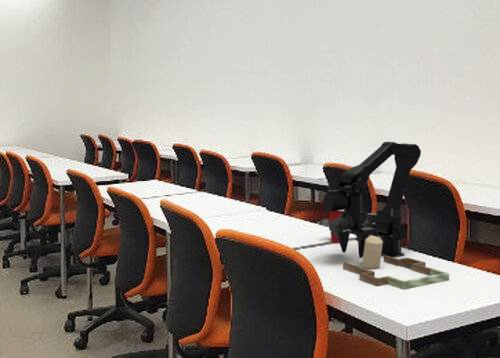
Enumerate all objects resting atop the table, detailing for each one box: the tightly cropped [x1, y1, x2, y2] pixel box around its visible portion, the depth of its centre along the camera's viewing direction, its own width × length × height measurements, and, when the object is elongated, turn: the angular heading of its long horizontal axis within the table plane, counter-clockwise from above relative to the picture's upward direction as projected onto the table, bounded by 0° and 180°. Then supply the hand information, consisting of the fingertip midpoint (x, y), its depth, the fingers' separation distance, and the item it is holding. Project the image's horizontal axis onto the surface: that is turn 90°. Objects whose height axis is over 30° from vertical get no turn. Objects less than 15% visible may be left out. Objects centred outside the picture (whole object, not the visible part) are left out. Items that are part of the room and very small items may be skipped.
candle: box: [362, 235, 383, 270], centre depth 208 cm, size 6×6×10 cm
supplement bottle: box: [363, 212, 383, 240], centre depth 239 cm, size 7×7×12 cm
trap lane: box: [342, 255, 450, 290], centre depth 200 cm, size 26×28×2 cm
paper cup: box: [329, 210, 344, 244], centre depth 247 cm, size 8×8×14 cm
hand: (352, 255), depth 217 cm, fingers open, 8 cm apart
